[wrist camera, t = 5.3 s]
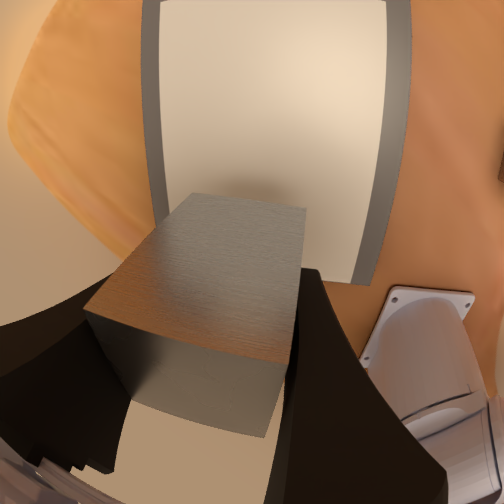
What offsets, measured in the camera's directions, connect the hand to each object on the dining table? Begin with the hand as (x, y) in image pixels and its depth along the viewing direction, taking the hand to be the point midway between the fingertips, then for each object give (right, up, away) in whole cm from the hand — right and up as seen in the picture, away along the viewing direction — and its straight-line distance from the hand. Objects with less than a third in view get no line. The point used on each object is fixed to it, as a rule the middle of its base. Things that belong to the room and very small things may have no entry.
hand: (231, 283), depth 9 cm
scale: (+2, +9, +4) cm, 10 cm away
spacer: (0, +1, +1) cm, 2 cm away
